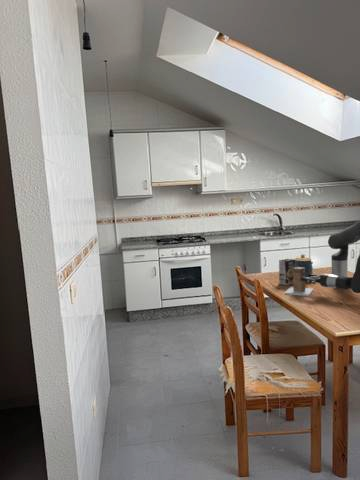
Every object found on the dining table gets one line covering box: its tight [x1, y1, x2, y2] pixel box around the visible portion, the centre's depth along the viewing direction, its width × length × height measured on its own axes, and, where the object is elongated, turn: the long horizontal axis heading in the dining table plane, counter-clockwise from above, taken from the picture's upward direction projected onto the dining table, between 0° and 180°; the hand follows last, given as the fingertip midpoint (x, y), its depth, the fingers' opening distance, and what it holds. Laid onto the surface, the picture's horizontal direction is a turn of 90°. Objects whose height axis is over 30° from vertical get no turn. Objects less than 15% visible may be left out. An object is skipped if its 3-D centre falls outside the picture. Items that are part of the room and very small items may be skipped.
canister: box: [294, 253, 314, 281], centre depth 257 cm, size 13×13×18 cm
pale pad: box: [284, 286, 314, 297], centre depth 227 cm, size 14×14×1 cm
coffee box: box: [278, 258, 295, 286], centre depth 248 cm, size 9×6×16 cm
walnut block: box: [292, 267, 306, 292], centre depth 226 cm, size 5×5×14 cm
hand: (304, 277), depth 223 cm, fingers open, 8 cm apart
